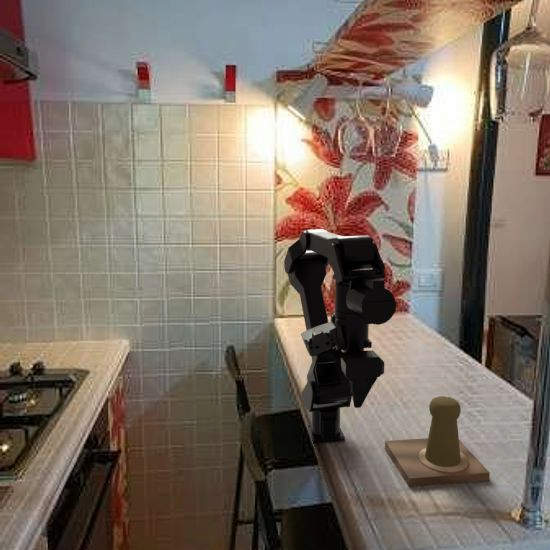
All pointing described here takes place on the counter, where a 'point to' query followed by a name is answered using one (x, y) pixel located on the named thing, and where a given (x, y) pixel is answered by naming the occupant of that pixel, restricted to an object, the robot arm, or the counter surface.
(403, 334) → the counter surface
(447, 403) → the pepper shaker
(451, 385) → the counter surface
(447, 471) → the plate
